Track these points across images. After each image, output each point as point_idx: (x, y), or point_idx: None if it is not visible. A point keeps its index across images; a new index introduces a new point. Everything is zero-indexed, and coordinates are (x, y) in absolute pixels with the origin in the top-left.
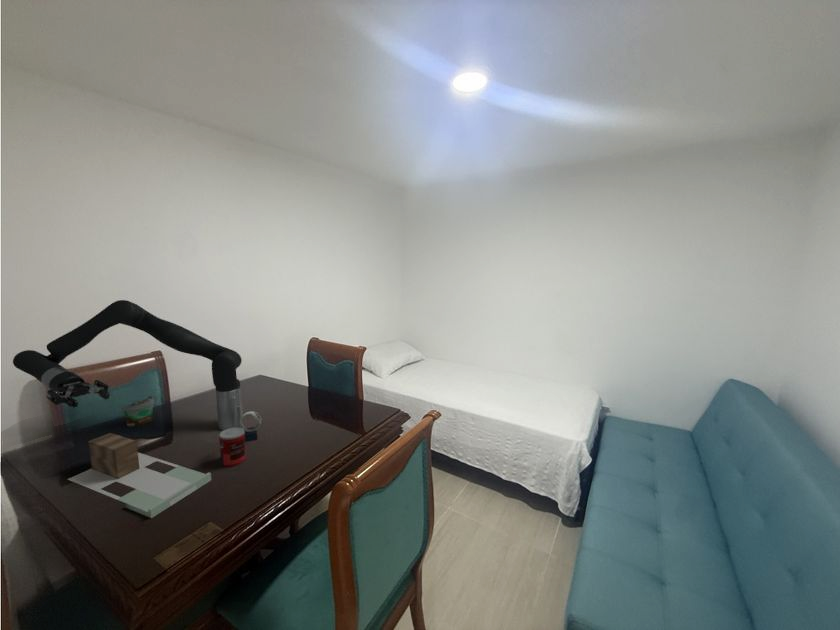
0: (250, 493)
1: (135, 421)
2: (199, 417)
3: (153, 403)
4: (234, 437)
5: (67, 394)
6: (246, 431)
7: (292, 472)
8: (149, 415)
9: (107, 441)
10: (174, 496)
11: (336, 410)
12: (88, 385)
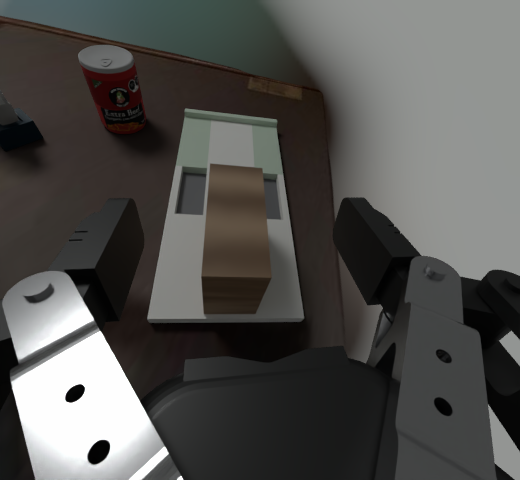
0: (194, 79)
1: None
2: None
3: None
4: (124, 50)
5: (437, 303)
6: (11, 125)
7: (138, 61)
8: None
9: (244, 223)
10: (245, 117)
11: None
12: (105, 421)
